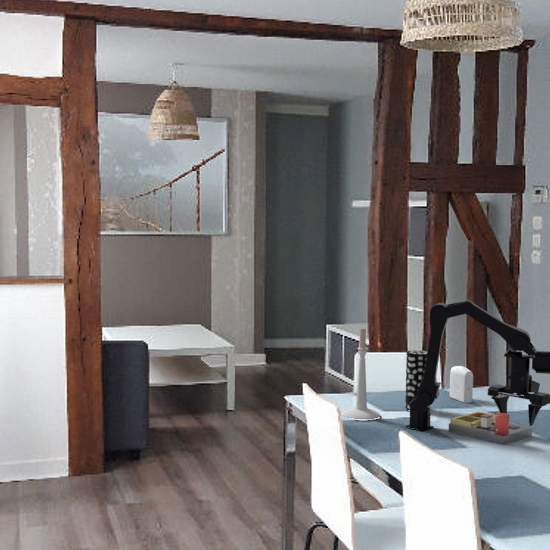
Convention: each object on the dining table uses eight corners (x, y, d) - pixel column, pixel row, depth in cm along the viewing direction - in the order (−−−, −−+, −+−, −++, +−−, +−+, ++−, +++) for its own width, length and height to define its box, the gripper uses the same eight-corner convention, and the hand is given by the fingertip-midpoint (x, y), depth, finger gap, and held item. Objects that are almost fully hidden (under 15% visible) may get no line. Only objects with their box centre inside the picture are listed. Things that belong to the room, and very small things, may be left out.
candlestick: (335, 413, 281) (337, 325, 279) (369, 410, 286) (371, 323, 284) (352, 422, 269) (353, 330, 267) (387, 419, 274) (389, 328, 272)
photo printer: (474, 402, 300) (475, 368, 300) (464, 403, 299) (465, 369, 298) (457, 396, 310) (458, 363, 309) (447, 397, 308) (448, 364, 308)
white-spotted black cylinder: (431, 413, 284) (432, 354, 282) (406, 412, 284) (408, 354, 282) (427, 407, 292) (428, 350, 290) (403, 407, 292) (404, 350, 291)
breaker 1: (486, 427, 253) (486, 416, 252) (480, 426, 254) (481, 415, 254) (491, 426, 254) (491, 415, 254) (485, 425, 256) (485, 414, 256)
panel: (503, 444, 245) (503, 431, 244) (448, 431, 259) (448, 418, 259) (531, 435, 255) (532, 422, 255) (477, 423, 270) (478, 411, 269)
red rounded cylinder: (503, 436, 245) (504, 417, 244) (492, 432, 248) (492, 414, 247) (511, 433, 248) (512, 415, 247) (499, 429, 251) (500, 412, 250)
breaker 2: (499, 424, 257) (499, 413, 257) (493, 422, 259) (493, 411, 259) (503, 422, 259) (504, 412, 259) (497, 421, 261) (498, 410, 260)
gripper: (561, 373, 251) (559, 424, 252) (507, 364, 265) (505, 413, 266) (542, 377, 244) (540, 430, 245) (487, 368, 258) (485, 418, 259)
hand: (517, 422), depth 254 cm, fingers open, 9 cm apart
